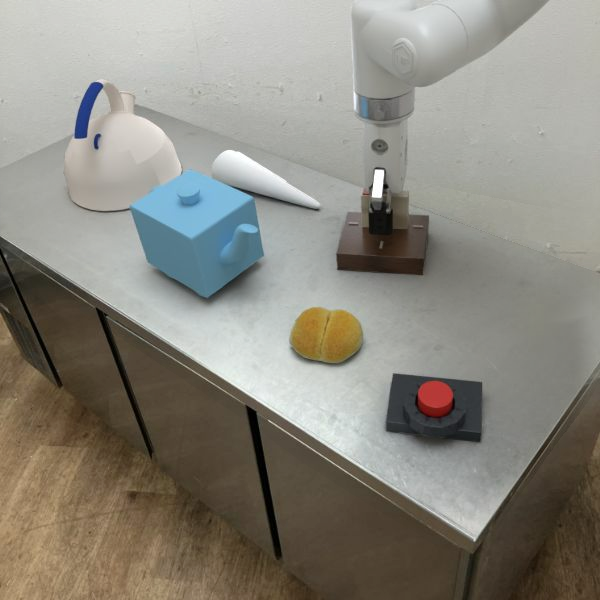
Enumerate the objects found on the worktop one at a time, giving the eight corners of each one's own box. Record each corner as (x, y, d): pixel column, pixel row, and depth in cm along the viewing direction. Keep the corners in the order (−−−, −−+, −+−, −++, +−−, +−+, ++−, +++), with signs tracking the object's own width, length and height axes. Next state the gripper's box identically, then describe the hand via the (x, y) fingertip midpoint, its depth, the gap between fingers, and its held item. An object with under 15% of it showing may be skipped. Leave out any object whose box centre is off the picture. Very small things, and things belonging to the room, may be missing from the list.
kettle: (195, 149, 122) (173, 54, 109) (162, 213, 107) (133, 111, 95) (95, 150, 125) (63, 58, 113) (49, 212, 110) (7, 114, 98)
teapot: (139, 264, 97) (112, 186, 88) (194, 227, 103) (175, 150, 93) (240, 326, 85) (221, 243, 76) (296, 281, 91) (286, 198, 82)
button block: (481, 391, 74) (484, 371, 71) (480, 452, 68) (483, 432, 65) (393, 382, 76) (392, 362, 74) (384, 440, 70) (384, 421, 68)
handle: (408, 222, 93) (409, 189, 89) (407, 229, 92) (408, 195, 88) (363, 220, 95) (362, 187, 91) (362, 227, 94) (360, 193, 90)
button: (452, 392, 70) (453, 382, 69) (451, 419, 67) (452, 409, 66) (419, 389, 71) (419, 379, 70) (416, 415, 68) (416, 405, 67)
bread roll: (356, 370, 78) (354, 347, 75) (285, 359, 80) (281, 337, 77) (370, 322, 83) (369, 300, 81) (303, 313, 86) (300, 291, 83)
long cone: (295, 236, 101) (211, 187, 110) (322, 219, 105) (238, 173, 114) (297, 206, 98) (210, 157, 107) (324, 189, 101) (238, 144, 110)
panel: (429, 222, 98) (430, 205, 96) (423, 275, 89) (423, 257, 87) (350, 218, 101) (349, 201, 98) (337, 269, 92) (335, 252, 90)
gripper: (407, 134, 73) (405, 253, 85) (420, 69, 86) (416, 181, 97) (342, 133, 75) (349, 249, 87) (363, 69, 87) (367, 179, 99)
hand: (385, 213), depth 92 cm, fingers open, 9 cm apart
